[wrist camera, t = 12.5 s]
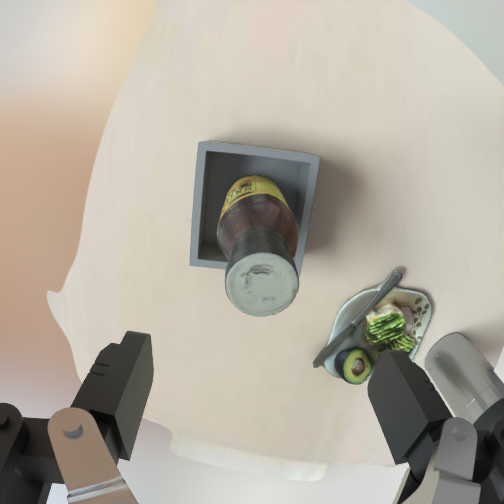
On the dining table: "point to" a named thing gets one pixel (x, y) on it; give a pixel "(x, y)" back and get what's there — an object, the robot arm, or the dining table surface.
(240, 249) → the sauce bottle
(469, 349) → the robot arm
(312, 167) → the bottle caddy
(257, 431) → the dining table surface
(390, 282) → the salad plate
